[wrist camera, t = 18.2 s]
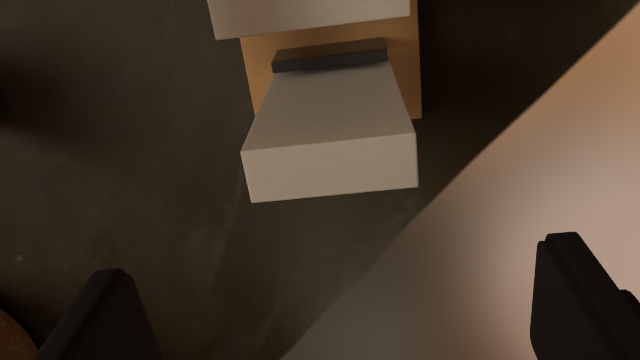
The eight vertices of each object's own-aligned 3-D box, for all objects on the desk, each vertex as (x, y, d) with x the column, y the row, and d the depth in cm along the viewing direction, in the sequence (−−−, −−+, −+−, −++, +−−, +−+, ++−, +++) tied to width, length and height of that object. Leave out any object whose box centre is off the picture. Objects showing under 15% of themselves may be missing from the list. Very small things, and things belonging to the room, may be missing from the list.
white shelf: (406, -206, 24) (469, -325, 12) (419, 113, 31) (467, 225, 20) (202, -172, 25) (83, -254, 13) (261, 130, 32) (216, 248, 20)
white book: (387, 54, 29) (416, 132, 18) (390, 91, 30) (418, 187, 19) (276, 67, 29) (239, 151, 18) (282, 103, 30) (251, 203, 19)
